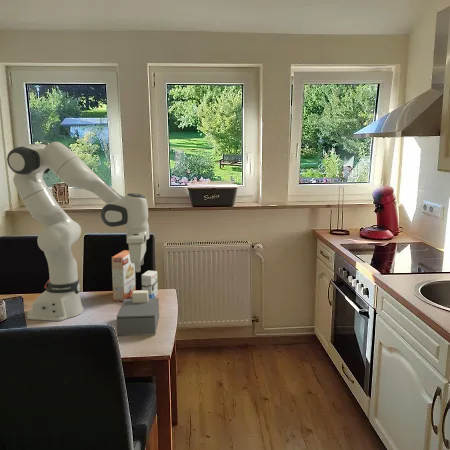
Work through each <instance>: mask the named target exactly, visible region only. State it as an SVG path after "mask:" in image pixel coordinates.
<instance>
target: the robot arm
mask: <svg viewBox="0 0 450 450" xmlns="http://www.w3.org/2000/svg"><path fill="white" fill-rule="evenodd" d="M6 160H7V161H6V162H7V166H8V168H10V170H11V171H12V172H13V173H14V175H13V177H12V178H13V179H12V180H13V184H14V187H15V189H16V191H17V194H18V196H19V198H20V199H21V202H23V204H24V206H25V207H26V209H27V211H28V212H29V214H30V216H31V217H32V218H33V219H34V220H36V221H38V222H39V223H40V224H42V226H43V227H45V228H44V229H42V231H40V233H39V234H38V236H37V239H36V240H37V246H38V248H39V249H40V250H41V251H42V252H43V253H44V256H45V258H46V261H47V266H48V273H49V276H48V277H49V279H48V280H47V281H46V283H45V285H44V289H45V290H44V291H43V292H41V294H39V295H38V296H37V297H36V298H35V299H34V301H33V303H32V308H31V309H29V310H28V312H27V314H26V319H27V320H32V321H33V320H35V321H53V322H54V321H55V322H61V321H65V320H67V319H69V318H73V317H76V316H79V315H81V314H82V313H84V311H85V309H84V306H83V303H82V300H81V294H80V291H81V287H80V286H81V285H80V278H78V277H79V276H78V261H77V260H76V259H75V258H74V255H73V252H72V249H71V247H72V245H74V244H75V243H77V241H78V240H79V239H80V237H81V234H82V228H81V225H80V224H79V222H76V221H75V220H73V219H72V218H71V217H70V216H69V215H68V214H67V213H66V212H65V210H64V209H63V208H62V207H61V206H60V204H59V203H58V202H57V200H56V199H55V197H54V195H53V194H52V192H51V191H50V188H49V186H48V185H47V184H46V182H45V180H44V178H43V177H44V176H43V175H44V174H48V173H49V172H50V171H52V172H53V173H54V174H55V176H56V177H57V178H58V179H59V180H60V181H61V182H62V183H64V184H66V185H67V186H68V187H70V188H73V189H79V190H84V191H85V190H86V191H88V192H90V193H92V194H94V195H95V196H97V197H98V198H99V199H100V200H102V202H103V203H105V204H106V205H104V206H103V207H102V209H101V210H100V218H101V221H102V222H103V224H104V225H106V226H108V227H110V228H116V227H119V226H125V230H126V231H125V232H126V244H128V250H129V254H130V260H131V263H134V265H135V273H140V272H141V266H143V265H144V258H145V254H146V252H147V240H149V239H150V225H149V222H148V220H149V207H148V200H147V198H146V197H145V196H144V195H143V194H141V193H133V192H132V193H131V192H129V193H126V194H125V196H122V195H120V194H119V193H118V192H117V191H116V190H115V189H114V188H112V187H111V186H110V185H109V184H108V183H106V181H104V180H103V179H102V178H101V177H100V176H99V175H97V174H96V172H94V170H92V169H91V168H90V167H89V166H88V165H87V164H86V163H85V162H84V161H83V159H81V158H80V157H79V156H78V155H77V154H76V153H75V152H74V151H72V150H71V149H70V148H69V147H68V146H67V145H65V144H63V143H61V142H60V141H52V142H49V143H45V142H43V143H42V142H39V143H30V144H27V145H23V146H18V147H14V148H13V149H11V150H10V151H9V152H8V154H7V158H6Z"/></svg>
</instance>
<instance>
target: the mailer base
mask: <svg viewBox="0 0 450 450" xmlns="http://www.w3.org/2000/svg"><path fill="white" fill-rule="evenodd" d="M159 303H160V301H159V300H158V304H157V309H156V313H155V317H132V318H117V317H116V330H117V331H116V333H117V337H128V336H129V337H134V336H135V337H136V336H137V337H138V336H140V337H141V336H156V334H157V328H158V323H159V318H160V304H159Z"/></svg>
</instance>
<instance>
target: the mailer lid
mask: <svg viewBox="0 0 450 450" xmlns="http://www.w3.org/2000/svg"><path fill="white" fill-rule="evenodd" d="M131 296H132V298H127V299H124V301H122V304H121V306H120V308H119V310H118V312H117V315H116V319H117V318H132V317H155V313H156V309H157V304H158V300H159V297H154V298H148V290H143V291H142V290H136V291H133V293H132V295H131Z"/></svg>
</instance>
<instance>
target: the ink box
mask: <svg viewBox="0 0 450 450" xmlns="http://www.w3.org/2000/svg"><path fill="white" fill-rule="evenodd" d="M158 289H159V288H158V271H156V270H147V271H145V272H144V273H142V274H141V291H143V290H148V298H156V296H157V295H159V290H158Z"/></svg>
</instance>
